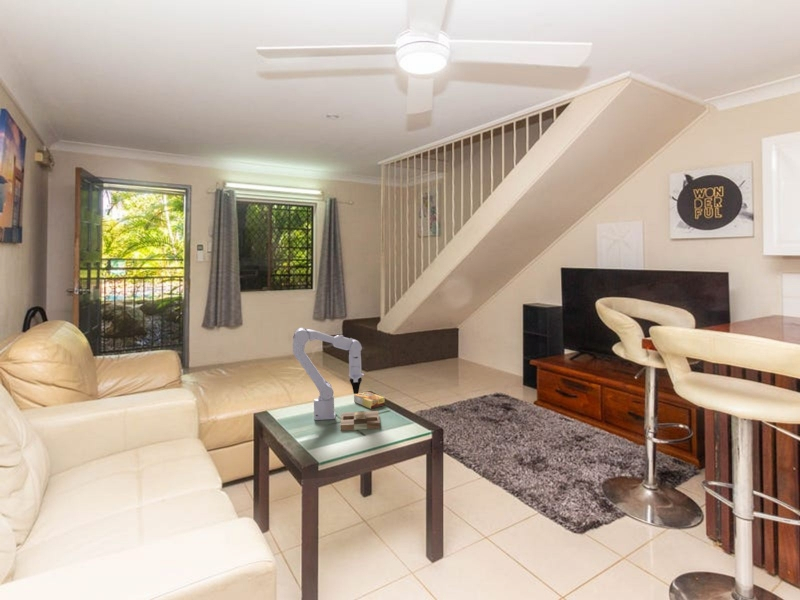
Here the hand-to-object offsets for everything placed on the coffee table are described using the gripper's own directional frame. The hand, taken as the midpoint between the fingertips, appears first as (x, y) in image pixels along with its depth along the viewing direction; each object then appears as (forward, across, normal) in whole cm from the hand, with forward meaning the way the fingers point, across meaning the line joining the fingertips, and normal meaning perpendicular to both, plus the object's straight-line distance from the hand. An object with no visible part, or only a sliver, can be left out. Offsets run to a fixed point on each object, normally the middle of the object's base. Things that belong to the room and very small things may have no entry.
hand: (356, 393), depth 203 cm
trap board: (+10, -12, -2) cm, 16 cm away
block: (+8, -18, -2) cm, 19 cm away
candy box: (+8, +8, -11) cm, 15 cm away
